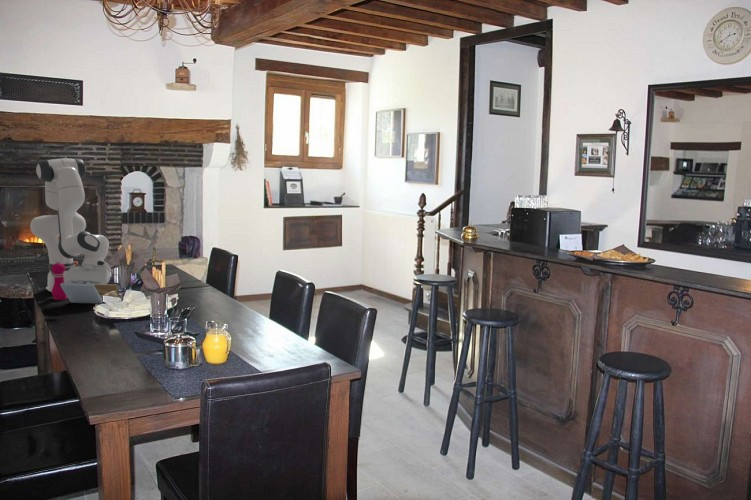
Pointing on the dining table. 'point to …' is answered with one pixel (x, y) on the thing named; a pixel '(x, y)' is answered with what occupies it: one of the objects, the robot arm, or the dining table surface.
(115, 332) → the dining table surface
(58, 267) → the pepper mill
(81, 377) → the dining table surface
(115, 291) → the tray
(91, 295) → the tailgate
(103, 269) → the robot arm
